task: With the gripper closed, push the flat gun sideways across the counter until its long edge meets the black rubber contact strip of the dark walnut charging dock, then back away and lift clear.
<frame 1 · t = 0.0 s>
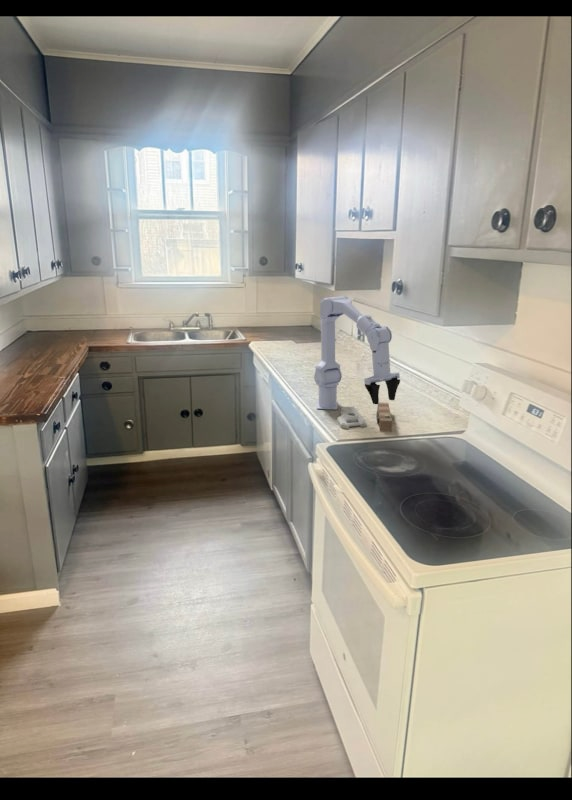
hand: (383, 402, 181), 11 cm above the countertop, tool pointing down, fingers open, 7 cm apart
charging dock: (383, 421, 193), on the countertop
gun: (349, 421, 195), on the countertop
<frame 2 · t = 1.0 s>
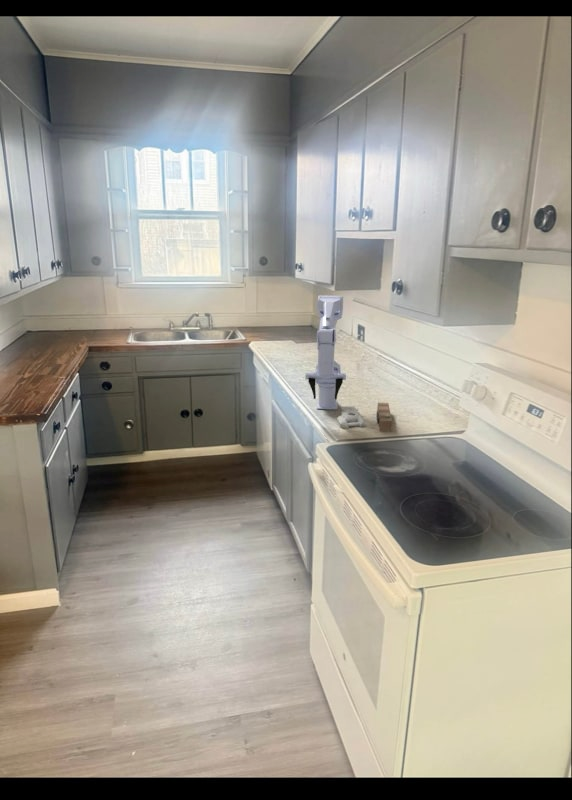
hand: (325, 398, 192), 9 cm above the countertop, tool pointing down, fingers open, 7 cm apart
nothing on the countertop moved.
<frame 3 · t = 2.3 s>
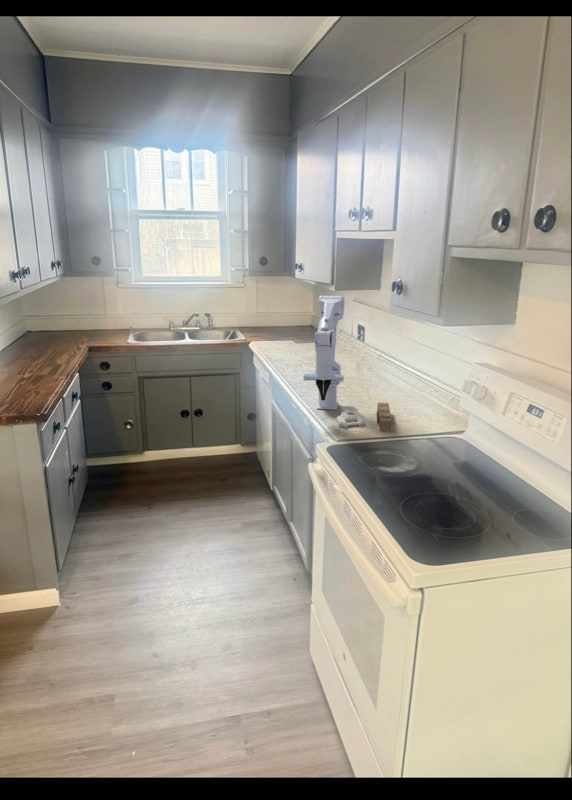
hand: (323, 399, 193), 8 cm above the countertop, tool pointing down, fingers closed
nothing on the countertop moved.
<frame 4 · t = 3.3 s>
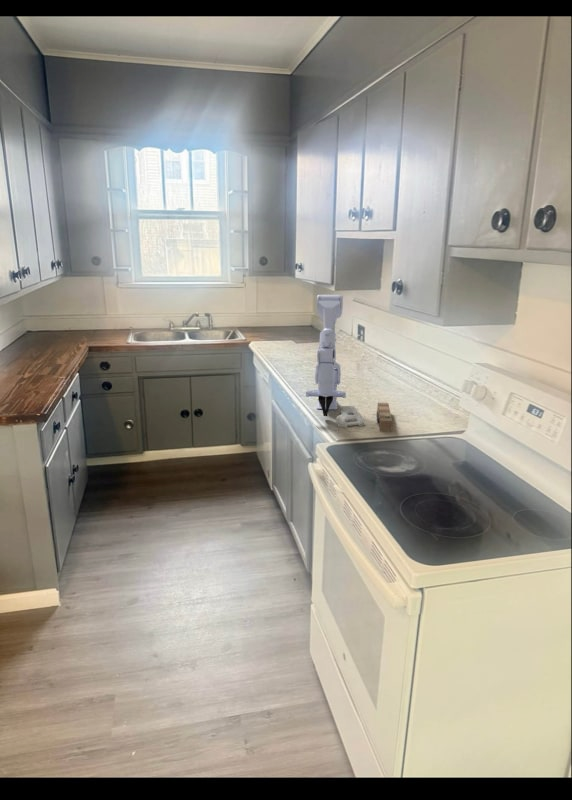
hand: (325, 415, 195), 2 cm above the countertop, tool pointing down, fingers closed
nothing on the countertop moved.
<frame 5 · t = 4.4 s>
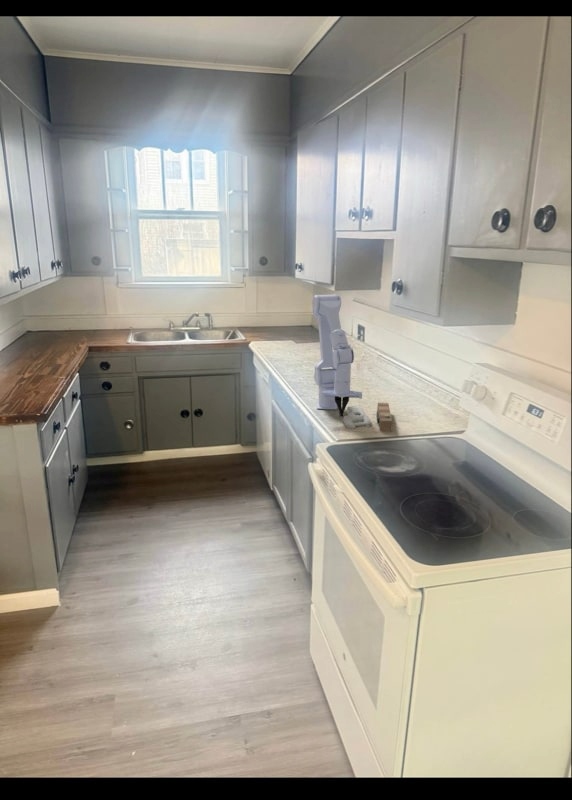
hand: (341, 415, 194), 2 cm above the countertop, tool pointing down, fingers closed
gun: (355, 421, 195), on the countertop, touching gripper
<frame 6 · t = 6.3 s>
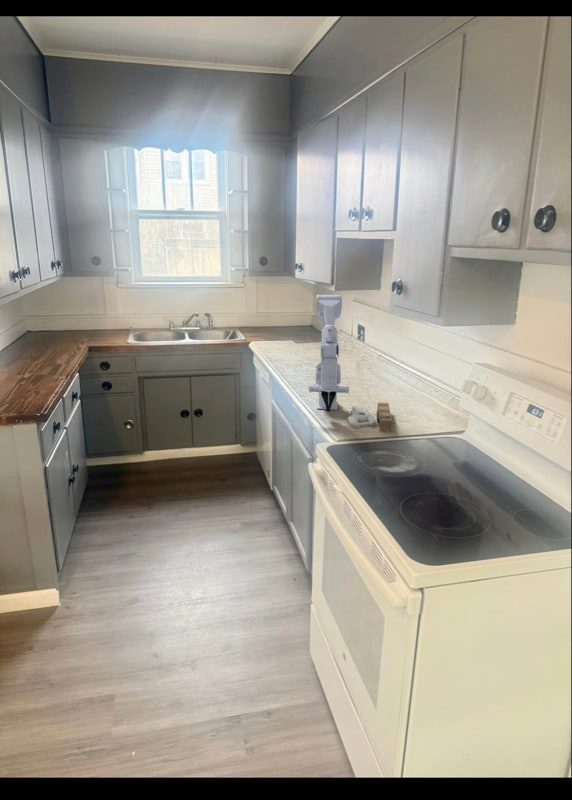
hand: (328, 410, 194), 3 cm above the countertop, tool pointing down, fingers closed
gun: (360, 421, 195), on the countertop
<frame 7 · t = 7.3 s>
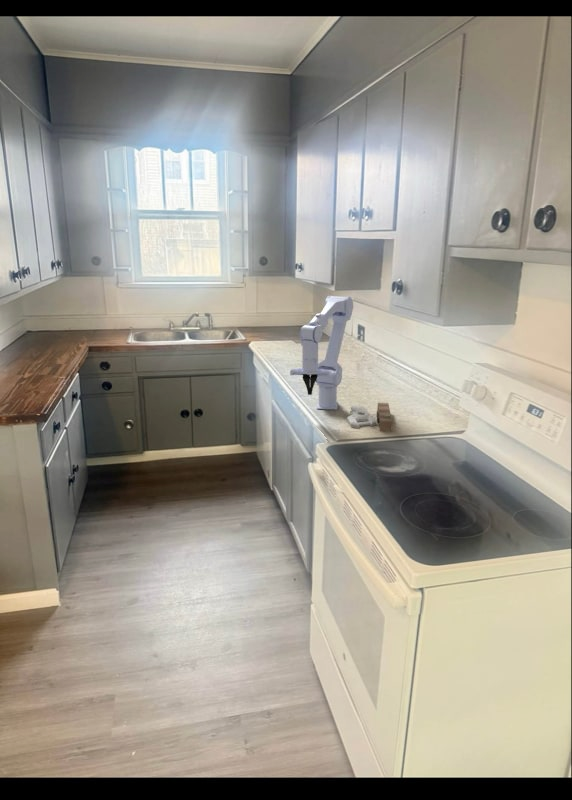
hand: (310, 394, 194), 9 cm above the countertop, tool pointing down, fingers closed
nothing on the countertop moved.
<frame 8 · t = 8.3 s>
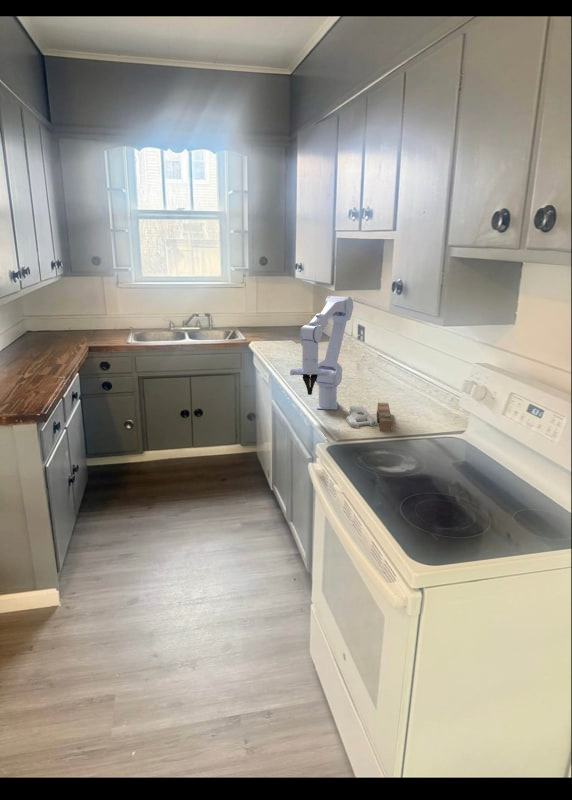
hand: (310, 394, 194), 9 cm above the countertop, tool pointing down, fingers closed
nothing on the countertop moved.
at the end: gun 1.6 cm from the target spot on the countertop beside the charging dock, on the countertop; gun moved 3.6 cm from its start; the gripper is holding nothing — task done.
